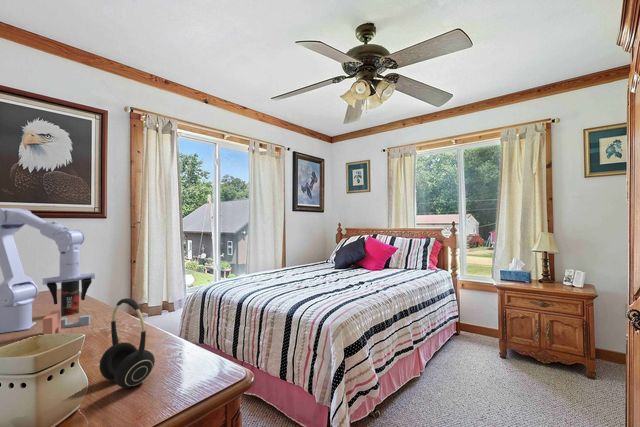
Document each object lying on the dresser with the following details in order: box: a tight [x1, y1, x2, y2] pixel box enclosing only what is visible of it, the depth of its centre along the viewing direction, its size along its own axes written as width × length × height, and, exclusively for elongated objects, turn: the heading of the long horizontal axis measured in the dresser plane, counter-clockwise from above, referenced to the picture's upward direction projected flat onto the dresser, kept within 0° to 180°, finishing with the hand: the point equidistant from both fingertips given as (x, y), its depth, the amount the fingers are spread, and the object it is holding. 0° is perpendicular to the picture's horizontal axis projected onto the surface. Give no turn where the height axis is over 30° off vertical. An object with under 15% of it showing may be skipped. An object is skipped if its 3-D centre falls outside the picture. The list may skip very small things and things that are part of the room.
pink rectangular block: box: [42, 309, 62, 335], centre depth 106 cm, size 2×10×7 cm, turn 27°
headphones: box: [99, 298, 156, 389], centre depth 75 cm, size 9×15×20 cm, turn 58°
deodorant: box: [60, 279, 80, 317], centre depth 131 cm, size 6×6×15 cm
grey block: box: [61, 314, 91, 329], centre depth 115 cm, size 10×2×3 cm, turn 117°
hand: (69, 301), depth 112 cm, fingers open, 7 cm apart
